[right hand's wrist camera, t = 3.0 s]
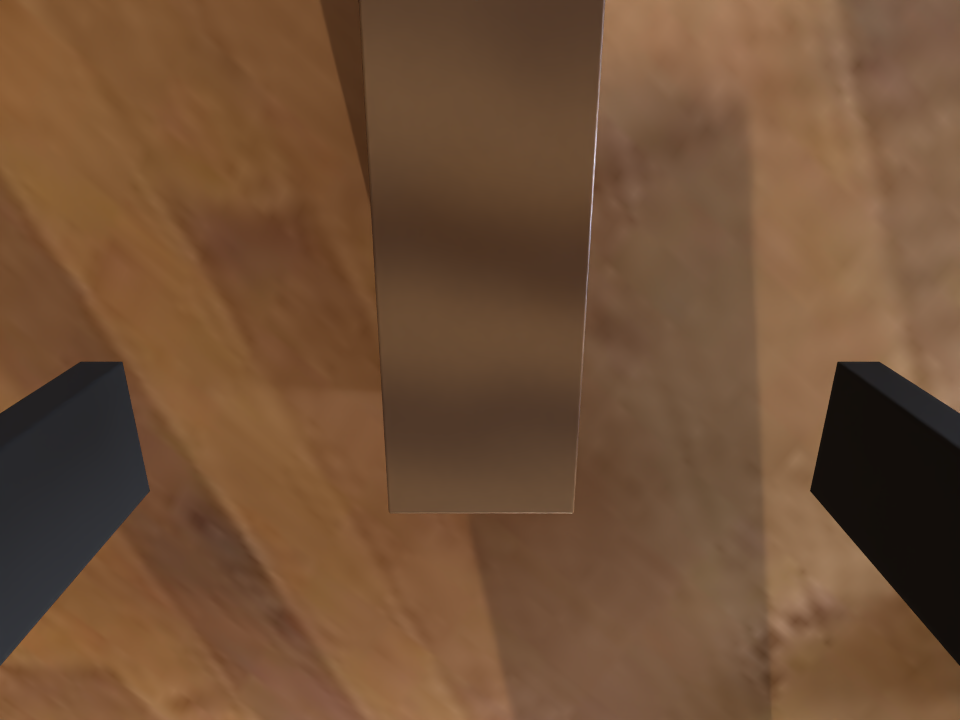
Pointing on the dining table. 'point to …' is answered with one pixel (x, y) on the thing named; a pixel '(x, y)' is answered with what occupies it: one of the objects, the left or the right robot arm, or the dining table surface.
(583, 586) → the dining table surface
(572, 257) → the bar
